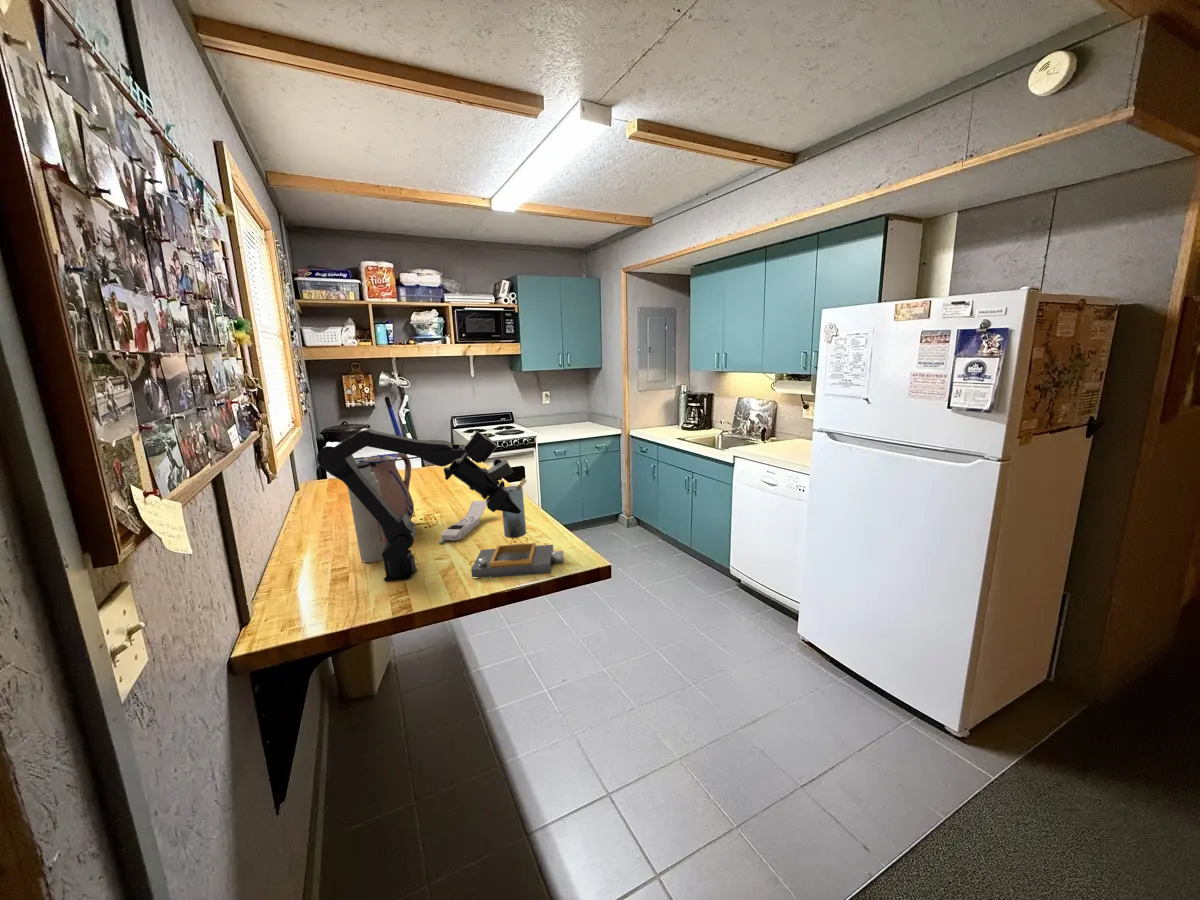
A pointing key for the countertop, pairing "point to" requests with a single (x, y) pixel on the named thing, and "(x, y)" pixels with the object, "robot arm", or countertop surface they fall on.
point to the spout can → (513, 521)
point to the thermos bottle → (367, 521)
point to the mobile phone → (465, 522)
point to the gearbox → (516, 560)
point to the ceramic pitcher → (393, 482)
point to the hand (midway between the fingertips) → (518, 508)
